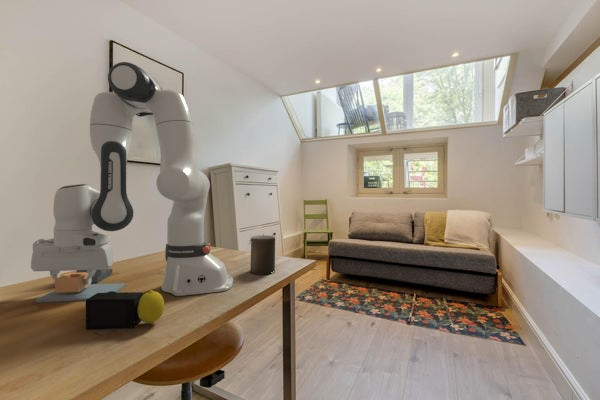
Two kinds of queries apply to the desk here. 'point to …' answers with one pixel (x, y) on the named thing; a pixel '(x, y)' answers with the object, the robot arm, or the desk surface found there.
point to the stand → (98, 274)
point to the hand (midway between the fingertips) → (73, 284)
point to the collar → (70, 282)
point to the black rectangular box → (113, 310)
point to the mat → (81, 293)
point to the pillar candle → (262, 254)
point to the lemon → (150, 307)
